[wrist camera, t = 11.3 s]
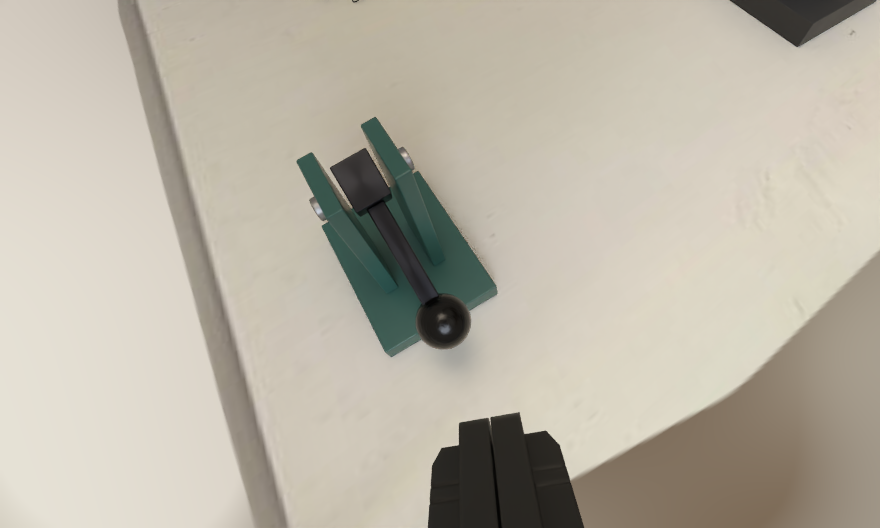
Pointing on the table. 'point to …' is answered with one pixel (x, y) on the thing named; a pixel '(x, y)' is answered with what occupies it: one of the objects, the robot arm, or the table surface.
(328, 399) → the table surface
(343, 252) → the lever base
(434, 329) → the control lever
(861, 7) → the control block
